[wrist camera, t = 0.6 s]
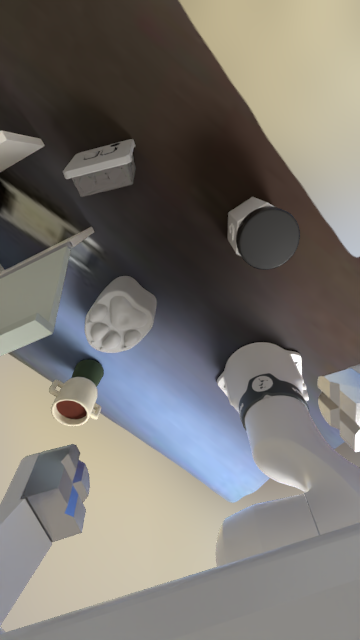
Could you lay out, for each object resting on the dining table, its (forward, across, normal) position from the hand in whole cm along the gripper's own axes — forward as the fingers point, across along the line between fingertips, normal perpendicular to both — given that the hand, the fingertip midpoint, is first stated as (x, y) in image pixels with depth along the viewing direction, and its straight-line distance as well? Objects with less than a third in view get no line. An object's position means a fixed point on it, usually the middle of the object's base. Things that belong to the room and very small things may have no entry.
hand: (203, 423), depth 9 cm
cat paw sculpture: (+47, -8, -9) cm, 49 cm away
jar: (+42, +18, +1) cm, 45 cm away
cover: (+29, -21, +1) cm, 35 cm away
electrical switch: (+44, -2, +15) cm, 46 cm away
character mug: (+51, -19, -22) cm, 58 cm away
